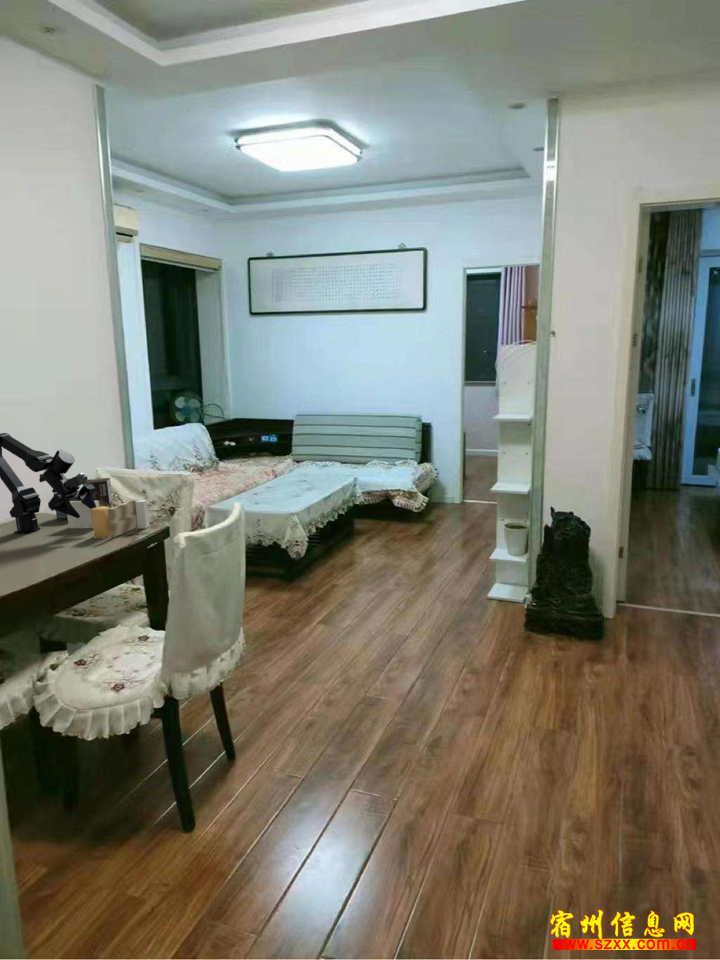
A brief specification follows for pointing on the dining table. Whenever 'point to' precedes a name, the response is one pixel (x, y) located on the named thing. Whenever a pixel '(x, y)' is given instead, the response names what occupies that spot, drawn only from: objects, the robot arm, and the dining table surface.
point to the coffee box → (101, 491)
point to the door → (122, 518)
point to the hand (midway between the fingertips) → (88, 514)
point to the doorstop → (100, 522)
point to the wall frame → (85, 511)
